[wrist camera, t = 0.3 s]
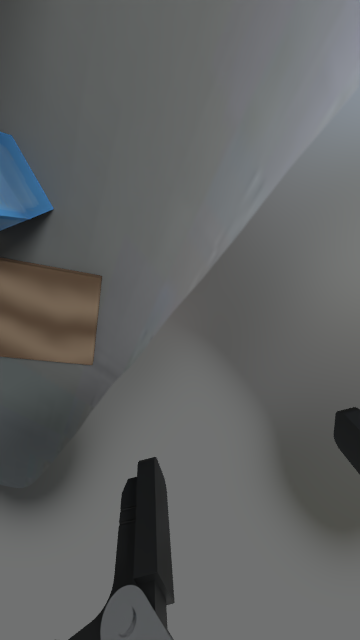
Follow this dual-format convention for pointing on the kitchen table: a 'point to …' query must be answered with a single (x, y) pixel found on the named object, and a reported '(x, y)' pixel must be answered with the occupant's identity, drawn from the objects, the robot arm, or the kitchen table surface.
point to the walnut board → (48, 312)
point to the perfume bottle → (18, 186)
